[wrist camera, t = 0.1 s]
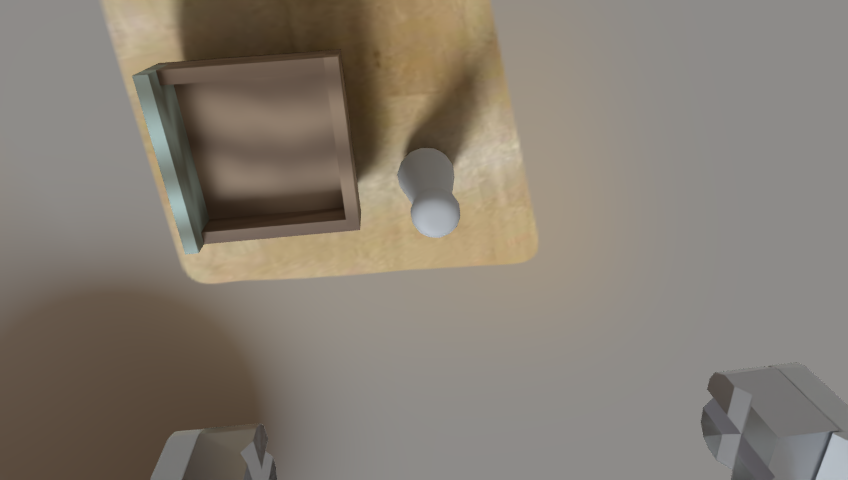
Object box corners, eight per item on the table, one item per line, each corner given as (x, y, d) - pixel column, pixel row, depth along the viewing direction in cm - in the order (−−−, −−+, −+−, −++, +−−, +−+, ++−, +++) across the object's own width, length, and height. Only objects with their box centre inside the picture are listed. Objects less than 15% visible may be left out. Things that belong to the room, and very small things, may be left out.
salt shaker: (387, 177, 58) (390, 231, 47) (413, 131, 56) (424, 175, 45) (433, 201, 60) (448, 259, 49) (461, 157, 58) (483, 206, 46)
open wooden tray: (170, 57, 51) (132, 75, 43) (342, 44, 52) (336, 60, 44) (211, 214, 58) (185, 254, 50) (361, 200, 59) (359, 238, 51)
